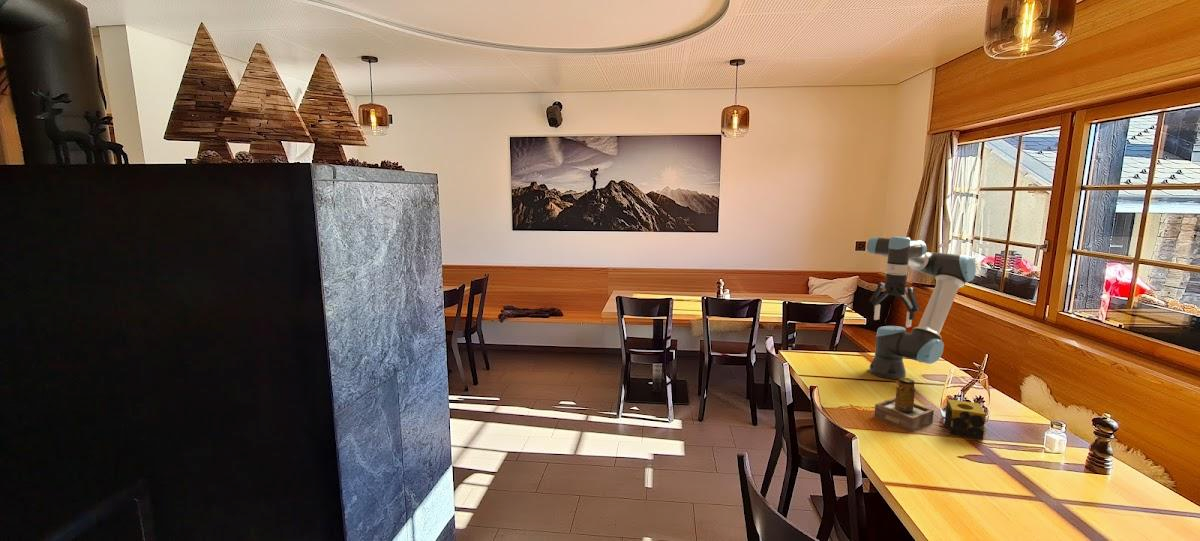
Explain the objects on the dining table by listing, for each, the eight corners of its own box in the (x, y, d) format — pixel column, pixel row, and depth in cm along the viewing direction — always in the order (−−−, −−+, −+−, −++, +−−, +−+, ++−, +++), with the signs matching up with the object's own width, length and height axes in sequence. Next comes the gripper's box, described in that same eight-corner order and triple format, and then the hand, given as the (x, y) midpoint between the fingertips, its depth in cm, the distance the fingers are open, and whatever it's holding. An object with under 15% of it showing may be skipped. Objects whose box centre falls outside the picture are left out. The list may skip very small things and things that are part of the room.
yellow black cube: (976, 428, 182) (979, 403, 180) (984, 440, 173) (987, 414, 171) (943, 423, 186) (946, 398, 185) (949, 435, 177) (952, 409, 176)
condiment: (897, 404, 193) (900, 375, 191) (922, 411, 186) (925, 381, 184) (890, 409, 188) (893, 379, 186) (914, 417, 182) (918, 386, 180)
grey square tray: (895, 408, 198) (896, 396, 197) (932, 423, 186) (933, 410, 185) (873, 416, 191) (875, 404, 191) (910, 431, 179) (912, 418, 178)
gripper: (862, 270, 213) (858, 317, 217) (922, 279, 192) (917, 331, 195) (873, 268, 217) (869, 315, 220) (933, 277, 195) (928, 328, 199)
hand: (892, 323), depth 208 cm, fingers open, 13 cm apart
